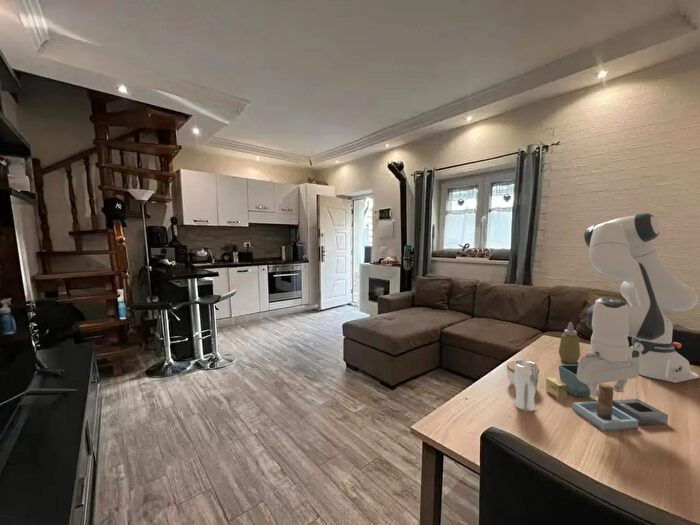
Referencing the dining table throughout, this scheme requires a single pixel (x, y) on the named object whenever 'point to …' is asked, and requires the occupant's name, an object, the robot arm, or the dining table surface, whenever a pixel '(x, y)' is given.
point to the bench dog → (556, 388)
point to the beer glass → (525, 384)
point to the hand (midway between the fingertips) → (606, 393)
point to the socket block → (641, 412)
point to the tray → (616, 423)
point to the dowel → (605, 401)
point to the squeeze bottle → (569, 345)
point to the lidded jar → (512, 371)
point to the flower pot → (573, 380)
